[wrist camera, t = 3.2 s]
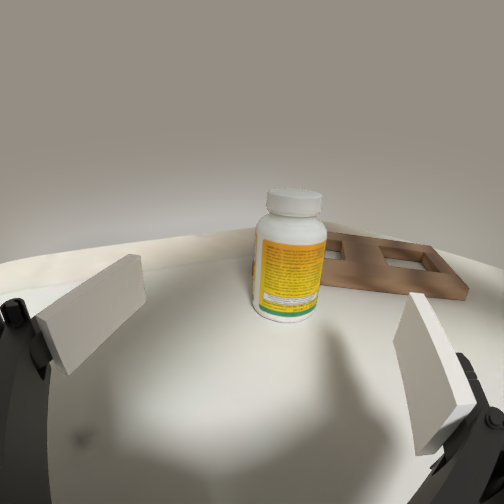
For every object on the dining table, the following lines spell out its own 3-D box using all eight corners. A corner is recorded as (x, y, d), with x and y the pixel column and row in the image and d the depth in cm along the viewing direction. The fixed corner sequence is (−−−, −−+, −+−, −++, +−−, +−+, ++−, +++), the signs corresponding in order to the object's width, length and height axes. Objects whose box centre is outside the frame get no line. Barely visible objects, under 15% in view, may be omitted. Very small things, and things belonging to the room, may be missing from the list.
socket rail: (428, 255, 36) (430, 246, 36) (464, 300, 24) (469, 288, 23) (275, 235, 41) (275, 225, 41) (252, 275, 29) (252, 261, 28)
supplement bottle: (242, 297, 25) (245, 186, 21) (294, 287, 27) (304, 186, 23) (270, 331, 20) (280, 199, 17) (328, 315, 22) (346, 198, 19)
